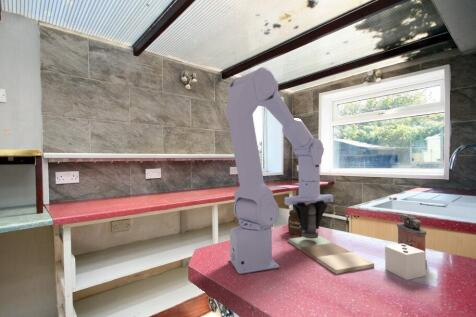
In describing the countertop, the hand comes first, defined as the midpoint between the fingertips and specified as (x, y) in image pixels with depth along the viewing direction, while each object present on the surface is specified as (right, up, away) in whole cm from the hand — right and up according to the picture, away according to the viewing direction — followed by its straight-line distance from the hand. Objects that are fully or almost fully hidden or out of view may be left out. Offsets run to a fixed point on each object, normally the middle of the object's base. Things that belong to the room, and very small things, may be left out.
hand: (309, 228), depth 70 cm
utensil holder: (-1, -4, +10) cm, 11 cm away
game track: (+2, -4, -7) cm, 8 cm away
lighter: (+21, -4, -11) cm, 24 cm away
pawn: (0, -2, 0) cm, 2 cm away
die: (+15, -4, -18) cm, 24 cm away
